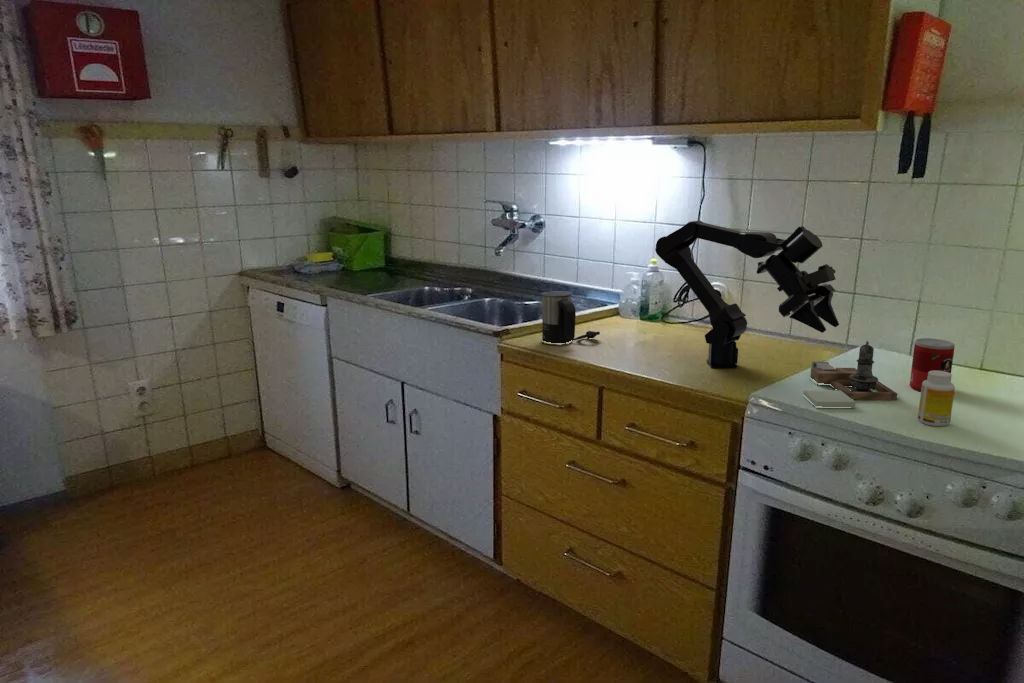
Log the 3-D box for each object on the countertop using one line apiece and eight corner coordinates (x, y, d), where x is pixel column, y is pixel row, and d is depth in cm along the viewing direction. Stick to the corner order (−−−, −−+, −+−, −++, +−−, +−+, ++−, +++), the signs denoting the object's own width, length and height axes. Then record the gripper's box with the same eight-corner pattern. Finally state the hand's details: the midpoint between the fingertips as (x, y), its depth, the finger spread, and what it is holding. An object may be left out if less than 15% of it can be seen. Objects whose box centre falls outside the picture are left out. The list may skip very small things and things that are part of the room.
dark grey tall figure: (870, 389, 162) (876, 338, 159) (880, 397, 156) (886, 344, 153) (843, 388, 163) (848, 337, 160) (853, 396, 157) (858, 344, 154)
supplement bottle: (956, 427, 138) (963, 376, 136) (928, 427, 138) (935, 377, 135) (937, 417, 143) (944, 368, 141) (911, 418, 143) (917, 369, 141)
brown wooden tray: (834, 399, 155) (835, 386, 154) (810, 379, 170) (811, 367, 169) (896, 400, 154) (898, 387, 153) (866, 379, 169) (868, 367, 168)
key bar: (821, 380, 168) (822, 369, 168) (810, 372, 175) (811, 361, 174) (836, 380, 168) (837, 369, 167) (825, 372, 175) (826, 361, 174)
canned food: (929, 396, 157) (936, 347, 154) (901, 385, 164) (906, 339, 161) (957, 392, 159) (963, 344, 156) (927, 382, 166) (933, 336, 163)
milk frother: (534, 342, 210) (534, 293, 207) (571, 333, 220) (571, 286, 217) (569, 350, 200) (569, 299, 196) (606, 341, 210) (607, 292, 207)
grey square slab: (815, 408, 150) (816, 401, 149) (802, 396, 157) (803, 390, 157) (854, 408, 149) (855, 401, 149) (839, 396, 157) (840, 390, 156)
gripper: (796, 257, 155) (843, 313, 150) (830, 250, 168) (874, 301, 163) (759, 289, 162) (803, 343, 157) (794, 279, 175) (836, 329, 170)
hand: (831, 328), depth 162 cm, fingers open, 7 cm apart
